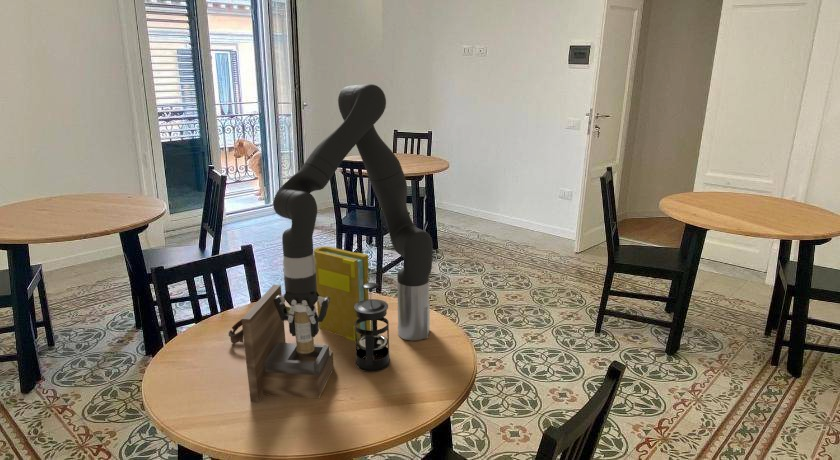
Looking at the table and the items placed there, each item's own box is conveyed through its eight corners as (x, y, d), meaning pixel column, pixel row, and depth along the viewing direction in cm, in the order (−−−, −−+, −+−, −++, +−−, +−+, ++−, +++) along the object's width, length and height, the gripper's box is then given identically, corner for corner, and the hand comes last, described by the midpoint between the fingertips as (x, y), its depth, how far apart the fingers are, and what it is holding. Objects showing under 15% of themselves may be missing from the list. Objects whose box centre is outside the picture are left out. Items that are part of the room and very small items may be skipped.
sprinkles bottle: (316, 345, 137) (313, 297, 133) (312, 354, 133) (309, 305, 129) (298, 345, 137) (294, 297, 133) (294, 354, 133) (290, 305, 129)
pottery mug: (264, 351, 153) (246, 331, 150) (238, 361, 156) (220, 342, 152) (276, 322, 163) (259, 304, 160) (251, 332, 166) (234, 314, 162)
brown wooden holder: (336, 361, 147) (332, 287, 140) (315, 405, 128) (309, 322, 121) (279, 358, 148) (273, 284, 142) (250, 401, 129) (241, 318, 123)
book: (370, 332, 163) (368, 254, 155) (356, 342, 157) (353, 261, 150) (328, 319, 171) (324, 244, 164) (313, 327, 166) (308, 251, 158)
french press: (358, 352, 152) (355, 276, 145) (391, 352, 151) (390, 276, 144) (352, 375, 140) (348, 294, 134) (387, 376, 140) (386, 294, 133)
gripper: (332, 266, 132) (336, 329, 137) (276, 264, 133) (282, 326, 138) (324, 278, 125) (328, 344, 130) (265, 275, 126) (271, 341, 131)
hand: (304, 334), depth 134 cm, fingers closed on sprinkles bottle, 4 cm apart
